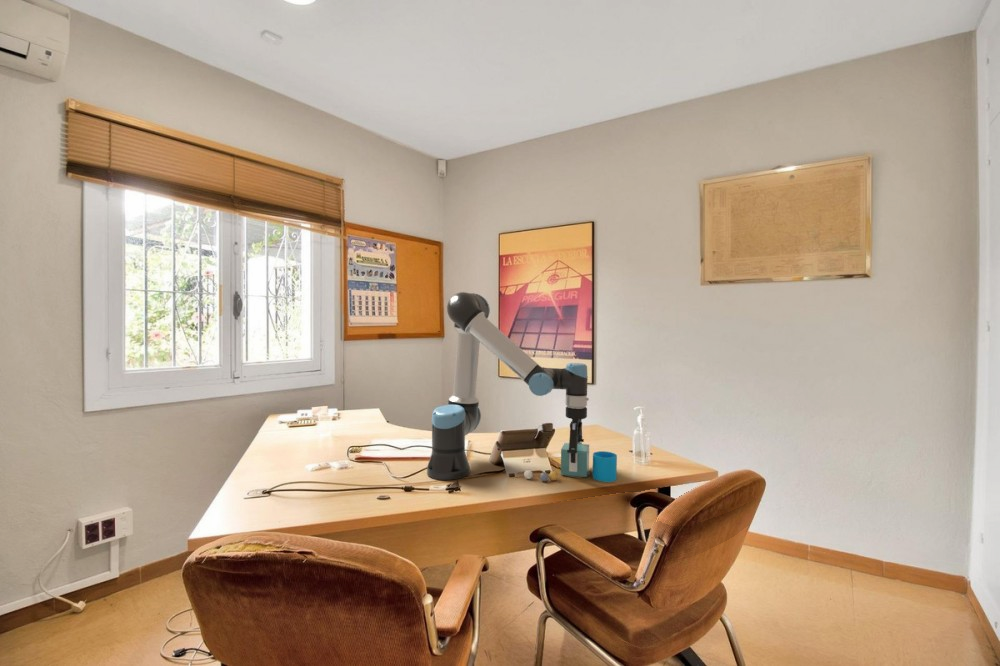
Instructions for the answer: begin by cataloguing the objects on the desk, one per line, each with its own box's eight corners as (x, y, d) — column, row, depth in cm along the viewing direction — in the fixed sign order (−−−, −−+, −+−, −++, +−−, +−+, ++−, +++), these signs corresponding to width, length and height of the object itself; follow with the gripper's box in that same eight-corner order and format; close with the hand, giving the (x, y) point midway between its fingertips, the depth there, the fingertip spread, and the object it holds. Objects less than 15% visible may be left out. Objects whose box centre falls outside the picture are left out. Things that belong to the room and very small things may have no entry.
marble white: (526, 468, 160) (534, 470, 161) (522, 470, 162) (530, 472, 163) (526, 476, 158) (533, 478, 159) (522, 478, 161) (529, 480, 162)
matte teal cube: (560, 474, 164) (561, 449, 164) (564, 466, 173) (564, 442, 173) (586, 477, 162) (587, 451, 161) (588, 469, 170) (589, 444, 170)
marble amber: (547, 481, 160) (547, 475, 158) (550, 474, 162) (550, 468, 160) (556, 483, 159) (556, 477, 157) (558, 476, 161) (558, 470, 159)
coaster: (559, 476, 164) (559, 474, 164) (563, 467, 174) (563, 466, 173) (588, 479, 161) (588, 477, 161) (590, 469, 171) (590, 468, 171)
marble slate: (538, 482, 159) (539, 477, 157) (540, 474, 161) (540, 469, 159) (547, 484, 158) (547, 479, 156) (549, 476, 160) (549, 471, 158)
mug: (619, 481, 159) (619, 458, 158) (595, 482, 158) (596, 458, 158) (609, 470, 171) (610, 448, 170) (587, 470, 170) (588, 448, 170)
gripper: (583, 414, 153) (582, 477, 154) (590, 401, 177) (589, 456, 178) (560, 412, 156) (559, 475, 156) (570, 399, 179) (569, 454, 180)
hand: (575, 465), depth 167 cm, fingers open, 13 cm apart
